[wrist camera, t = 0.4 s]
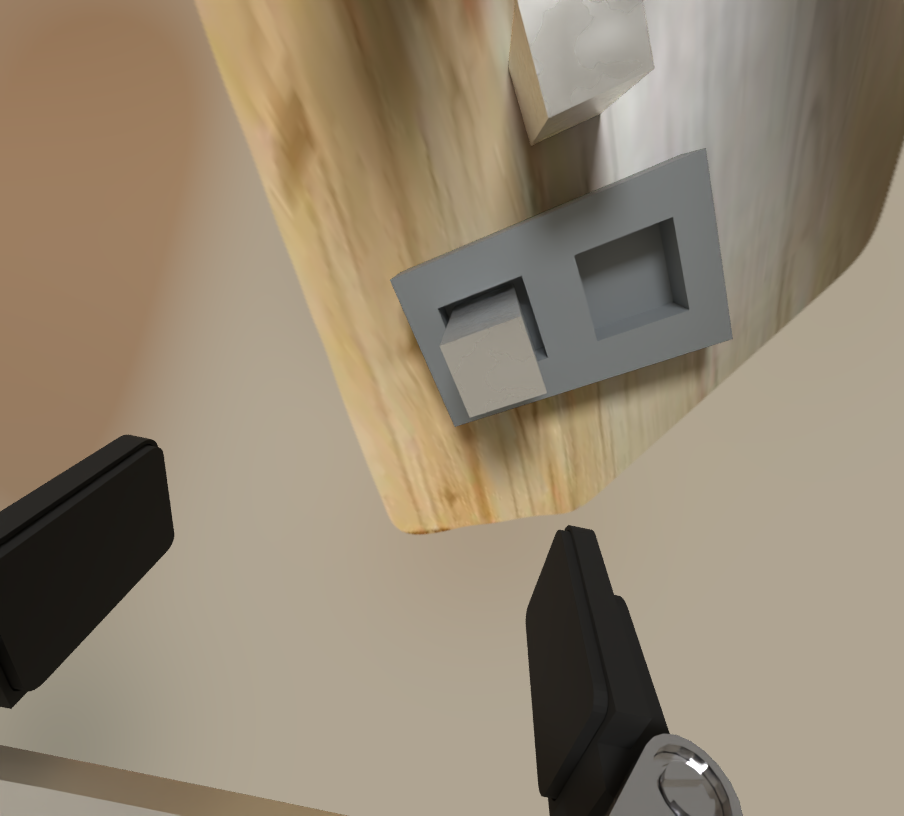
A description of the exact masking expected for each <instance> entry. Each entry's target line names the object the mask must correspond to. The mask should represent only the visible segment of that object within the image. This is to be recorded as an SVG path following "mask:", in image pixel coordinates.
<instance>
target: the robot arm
mask: <svg viewBox="0 0 904 816" xmlns="http://www.w3.org/2000/svg"><path fill="white" fill-rule="evenodd" d="M173 539H174V529H173V521H172V514H171V507H170V500H169V492H168V484H167V477H166V469H165V462H164V455H163V451H162V450H161V448H159V447H158V445H157V443H156V442H155V441H154V440H151V439H147V438H142V437H137V436H132V435H123V436H121V437H119V438H118V439H116V440H114V441H112V442H111V443H109V444H108V445H106V446H105V447H103V448H101V449H100V450H98V451H96V452H95V453H93V454H92V455H90V456H88V457H87V458H85V459H84V460H82V461H80V462H79V463H77V464H76V465H74V466H72V467H71V468H69V469H68V470H66V471H65V472H63V473H61V474H60V475H58V476H56V477H55V478H53V479H52V480H50V481H48V482H47V483H45V484H44V485H42V486H40V487H39V488H37V489H36V490H34V491H32V492H31V493H29V494H28V495H26V496H24V497H23V498H21V499H20V500H18V501H17V502H15V503H13V504H12V505H10V506H8V507H7V508H5V509H4V510H2V511H1V512H0V707H5V708H10V709H11V708H12V707H13V706H14V705H15V704H16V703H17V702H18V701H19V700H20V699H21V698H22V697H23V696H24V695H25V694H26V693H27V692H28V691H32V690H35V689H36V688H38V687H39V686H40V685H42V684H43V683H44V682H45V681H46V680H47V678H48V677H49V676H50V675H51V674H52V673H53V672H54V671H55V670H56V669H57V668H58V667H59V666H60V665H61V664H62V663H63V662H64V660H65V659H66V658H67V657H68V656H69V655H70V654H71V653H72V652H73V651H74V650H75V649H76V648H77V647H78V646H79V645H80V643H81V642H82V641H83V640H84V639H85V638H86V637H87V636H88V635H89V634H90V633H91V632H92V630H94V628H95V627H96V626H97V625H98V624H99V623H100V622H101V621H102V620H103V619H104V618H105V617H106V616H107V615H108V614H109V613H110V611H111V610H112V609H113V608H114V607H115V606H116V605H117V604H118V603H119V602H120V601H121V600H122V599H123V597H125V595H126V594H127V593H128V592H129V591H130V590H131V589H132V588H133V587H134V586H135V585H136V584H137V583H138V582H139V581H140V579H141V578H142V577H143V576H144V575H145V574H146V573H147V572H148V571H149V570H150V569H151V568H152V567H153V566H154V565H155V563H156V562H157V561H158V560H159V559H160V558H161V557H162V556H163V555H164V554H165V553H166V552H167V551H168V549H169V548H170V546H171V545H172V542H173ZM526 633H527V646H528V659H529V671H530V685H531V697H532V710H533V723H534V736H535V748H536V762H537V774H538V786H539V791H540V794H541V796H543V797H548V802H549V813H550V816H743V814H742V810H741V806H740V802H739V799H738V797H737V795H736V793H735V791H734V789H733V787H732V784H731V782H730V781H729V779H728V778H727V777H726V775H725V774H724V772H723V771H722V770H721V768H720V767H719V765H718V764H717V763H716V762H715V761H714V760H713V759H712V758H711V757H710V756H709V755H708V754H707V753H706V752H705V751H704V750H702V749H701V748H700V747H698V746H697V745H695V744H694V743H692V742H691V741H689V740H687V739H685V738H682V737H680V736H678V735H672V734H670V733H669V731H668V728H667V724H666V722H665V718H664V715H663V712H662V709H661V707H660V703H659V700H658V697H657V694H656V692H655V688H654V686H653V683H652V679H651V677H650V674H649V671H648V667H647V664H646V662H645V659H644V656H643V652H642V649H641V646H640V644H639V640H638V637H637V635H636V632H635V628H634V625H633V622H632V619H631V617H630V613H629V610H628V607H627V605H626V603H625V601H624V600H623V598H622V597H621V596H617V595H614V593H613V590H612V587H611V584H610V580H609V577H608V574H607V571H606V567H605V564H604V561H603V558H602V555H601V551H600V548H599V545H598V542H597V539H596V535H595V533H594V531H593V530H590V529H585V528H580V527H575V526H570V525H568V526H567V527H566V528H565V531H563V530H558V531H557V532H556V535H555V537H554V540H553V543H552V545H551V548H550V550H549V553H548V555H547V558H546V561H545V563H544V566H543V569H542V571H541V574H540V576H539V579H538V581H537V584H536V587H535V589H534V592H533V594H532V597H531V600H530V602H529V605H528V608H527V613H526ZM0 816H347V815H342V814H337V813H332V812H328V811H323V810H318V809H313V808H308V807H304V806H299V805H294V804H289V803H285V802H280V801H275V800H270V799H265V798H260V797H256V796H251V795H246V794H241V793H236V792H231V791H226V790H221V789H216V788H211V787H207V786H202V785H197V784H191V783H187V782H182V781H177V780H172V779H167V778H162V777H158V776H153V775H147V774H143V773H138V772H133V771H128V770H123V769H118V768H113V767H108V766H103V765H98V764H93V763H88V762H83V761H78V760H73V759H68V758H63V757H58V756H53V755H48V754H42V753H38V752H33V751H28V750H22V749H17V748H12V747H7V746H2V745H0Z"/></svg>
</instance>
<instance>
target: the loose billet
mask: <svg viewBox="0 0 904 816" xmlns="http://www.w3.org/2000/svg"><path fill="white" fill-rule="evenodd" d="M508 68H509V71H510V75H511V79H512V82H513V86H514V89H515V93H516V96H517V100H518V103H519V107H520V111H521V114H522V118H523V121H524V125H525V128H526V132H527V135H528V139H529V142H530V146H532V145H534V144H536V143H538V142H540V141H542V140H545V139H547V138H549V137H551V136H553V135H555V134H558V133H560V132H562V131H564V130H566V129H568V128H571V127H573V126H575V125H577V124H579V123H582V122H584V121H586V120H588V119H590V118H592V117H595V116H597V115H599V114H601V113H602V112H603V111H604V110H606V109H607V108H608V107H609V106H610V105H611V104H613V103H614V102H615V101H616V100H617V99H619V98H620V97H621V96H622V95H623V94H625V93H626V92H627V91H628V90H629V89H630V88H632V87H633V86H634V85H635V84H636V83H638V82H639V81H640V80H641V79H642V78H644V77H645V76H646V75H647V74H648V73H649V72H651V71H652V70H653V69H654V62H653V56H652V51H651V45H650V39H649V33H648V27H647V21H646V16H645V10H644V4H643V0H515V6H514V15H513V24H512V34H511V43H510V52H509V61H508Z"/></svg>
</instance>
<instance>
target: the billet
mask: <svg viewBox="0 0 904 816" xmlns="http://www.w3.org/2000/svg"><path fill="white" fill-rule="evenodd" d="M440 348H441V351H442V353H443V356H444V358H445V360H446V363H447V365H448V367H449V370H450V372H451V374H452V377H453V379H454V382H455V384H456V386H457V389H458V391H459V393H460V396H461V398H462V400H463V403H464V405H465V408H466V410H467V412H468V415H469V417H470V418H471V417H474V416H477V415H480V414H483V413H486V412H489V411H493V410H496V409H499V408H502V407H505V406H508V405H511V404H515V403H518V402H521V401H524V400H527V399H530V398H533V397H537V396H540V395H543V394H546V393H547V391H546V388H545V384H544V381H543V377H542V374H541V370H540V367H539V363H538V360H537V357H536V353H535V350H534V346H533V343H532V339H531V336H530V333H529V330H528V327H527V324H526V321H525V318H524V315H523V312H522V309H521V306H520V303H519V300H518V297H517V294H516V291H515V288H514V285H513V284H510V285H508V286H505V287H503V288H500V289H498V290H495V291H492V292H490V293H487V294H485V295H482V296H479V297H477V298H474V299H472V300H469V301H467V302H464V303H461V304H459V305H456V306H454V309H453V311H452V314H451V317H450V319H449V322H448V325H447V327H446V330H445V333H444V335H443V338H442V341H441V343H440Z"/></svg>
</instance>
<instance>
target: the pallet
mask: <svg viewBox="0 0 904 816" xmlns="http://www.w3.org/2000/svg"><path fill="white" fill-rule="evenodd" d="M390 281H391V283H392V286H393V288H394V290H395V293H396V295H397V297H398V299H399V302H400V304H401V306H402V308H403V311H404V313H405V315H406V317H407V320H408V322H409V324H410V326H411V329H412V331H413V333H414V335H415V338H416V340H417V342H418V345H419V347H420V349H421V351H422V354H423V356H424V358H425V360H426V363H427V365H428V367H429V369H430V372H431V374H432V376H433V378H434V381H435V383H436V385H437V388H438V390H439V392H440V394H441V397H442V399H443V401H444V403H445V406H446V408H447V410H448V412H449V415H450V417H451V419H452V421H453V424H454V426H455V427H456V426H459V425H462V424H465V423H468V422H472V421H475V420H478V419H481V418H484V417H487V416H490V415H494V414H497V413H500V412H503V411H506V410H509V409H513V408H516V407H519V406H522V405H525V404H528V403H532V402H535V401H538V400H541V399H544V398H547V397H551V396H554V395H557V394H560V393H563V392H566V391H570V390H573V389H576V388H579V387H582V386H585V385H589V384H592V383H595V382H598V381H601V380H604V379H608V378H611V377H614V376H617V375H620V374H623V373H626V372H630V371H633V370H636V369H639V368H642V367H645V366H649V365H652V364H655V363H658V362H661V361H664V360H668V359H671V358H674V357H677V356H680V355H683V354H687V353H690V352H693V351H696V350H699V349H702V348H706V347H709V346H712V345H715V344H718V343H721V342H725V341H728V340H731V339H733V337H732V330H731V323H730V316H729V309H728V302H727V295H726V288H725V280H724V273H723V266H722V259H721V252H720V245H719V238H718V231H717V224H716V217H715V210H714V203H713V196H712V189H711V182H710V174H709V167H708V160H707V153H706V148H704V149H700V150H696V151H693V152H689V153H685V154H681V155H679V156H676V157H674V158H671V159H669V160H667V161H664V162H662V163H659V164H657V165H655V166H652V167H650V168H648V169H645V170H643V171H640V172H638V173H636V174H633V175H631V176H629V177H626V178H624V179H621V180H619V181H617V182H614V183H612V184H609V185H607V186H605V187H602V188H600V189H598V190H595V191H593V192H590V193H588V194H586V195H583V196H581V197H579V198H576V199H574V200H571V201H569V202H567V203H564V204H562V205H559V206H557V207H555V208H552V209H550V210H548V211H545V212H543V213H540V214H538V215H536V216H533V217H531V218H529V219H526V220H524V221H521V222H519V223H517V224H514V225H512V226H509V227H507V228H505V229H502V230H500V231H498V232H495V233H493V234H490V235H488V236H486V237H483V238H481V239H479V240H476V241H474V242H471V243H469V244H467V245H464V246H462V247H459V248H457V249H455V250H452V251H450V252H448V253H445V254H443V255H440V256H438V257H436V258H433V259H431V260H429V261H426V262H424V263H421V264H419V265H417V266H414V267H412V268H409V269H407V270H405V271H402V272H400V273H399V274H397V275H396V276H395V277H393V278H392V279H391V280H390ZM510 284H513V285H514V288H515V291H516V294H517V297H518V300H519V303H520V306H521V309H522V312H523V315H524V318H525V321H526V324H527V327H528V330H529V333H530V336H531V339H532V343H533V346H534V350H535V353H536V357H537V360H538V363H539V367H540V370H541V374H542V377H543V381H544V384H545V388H546V391H547V393H546V394H543V395H540V396H537V397H533V398H530V399H527V400H524V401H521V402H518V403H515V404H511V405H508V406H505V407H502V408H499V409H496V410H493V411H489V412H486V413H483V414H480V415H477V416H474V417H471V418H470V417H469V415H468V412H467V410H466V408H465V405H464V403H463V400H462V398H461V396H460V393H459V391H458V389H457V386H456V384H455V382H454V379H453V377H452V374H451V372H450V370H449V367H448V365H447V363H446V360H445V358H444V356H443V353H442V351H441V348H440V343H441V341H442V338H443V335H444V333H445V330H446V327H447V325H448V322H449V319H450V317H451V314H452V311H453V309H454V306H456V305H459V304H461V303H464V302H467V301H469V300H472V299H474V298H477V297H479V296H482V295H485V294H487V293H490V292H492V291H495V290H498V289H500V288H503V287H505V286H508V285H510Z"/></svg>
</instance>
